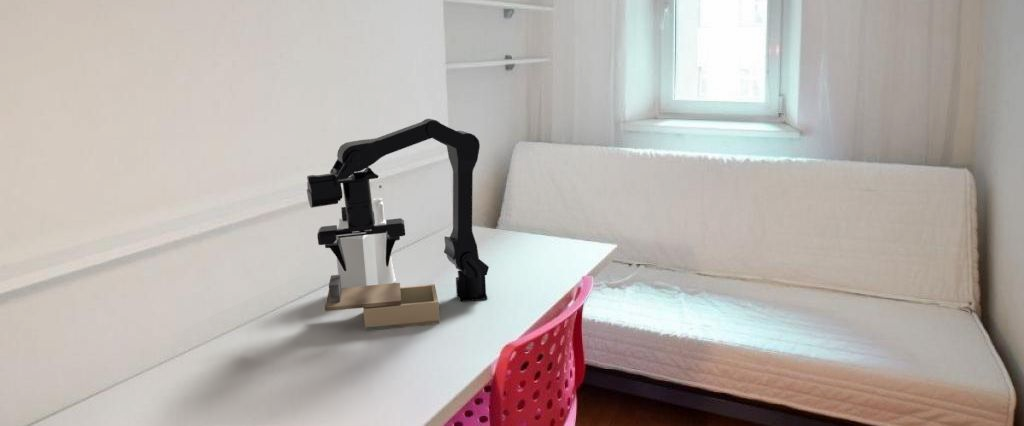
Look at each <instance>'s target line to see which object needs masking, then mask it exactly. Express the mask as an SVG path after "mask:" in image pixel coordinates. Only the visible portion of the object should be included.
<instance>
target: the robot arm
mask: <svg viewBox="0 0 1024 426" xmlns="http://www.w3.org/2000/svg"><path fill="white" fill-rule="evenodd" d="M430 139H433V140H435V141H437V142H439V143H441V144H442V145H445V146H446V149H447V156H448V159H449V160H448V161H449V163H450V166H451V168H452V231H451V233H450V236H444V245H445V247H444V250H443V253H444V254H445V255H446V258H447V260H448V261H449V262H450V263H451V264H452V265H454V266H455V269H456V270H457V277H455V288H456V289H455V291H456V296H457V297H458V298H459V301H460V302H472V301H479V300H487V299H488V295H487V284H486V276H487V275H488V271H489V268H490V267H489V265H488V264H486V263H485V262H484V261H482V260H481V259H480V258H479V249H478V244H477V241H476V239H475V236H474V233H473V187H474V185H473V173H474V169H475V167H476V164H477V162H478V159H479V154H480V148H481V147H480V145H481V144H480V140H479V139H478V137H477V136H476V135H475V134H473V133H470V132H467V131H464V130H455V129H453V128H451V127H449V126H447V125H444V124H443V123H441V122H440V121H438V120H436V119H433V118H425V119H423V120H422V121H420V122H417V123H415V124H411V125H409V126H407V127H404V128H400V129H398V130H396V131H392V132H389V133H386V134H385V135H381V136H379V137H375V138H369V139H367V138H366V139H358V140H353V141H347V142H345V143H343V144H341V145H340V146H339V149H338V151H337V153H336V154H337V155H336V156H337V157H336V158H337V159H336V160H335V162H334V164H333V165H332V168H331V169H330V172H329V173H324V174H318V175H317V174H316V175H315V174H311V175H307V177H306V178H307V182H306V187H307V189H306V195H307V200H308V203H309V206H310V208H311V209H313V208H319V207H320V208H321V207H324V206H325V207H326V206H331V205H338V204H339V201H341V199H343V198H344V205H345V206H342V207H340V208H341V209H340V211H341V219H342V220H343V221H344V222H345V221H347V222H348V228H346V229H338V225H336V224H335V225H334V224H333V225H326V226H325V225H324V226H320V228H319V229H318V232H317V242H318V243H317V244H318V246H324V247H325V249H330V250H331V252H332V253H333V254H334V255H335V257H336V260H337V259H338V260H339V262H340V264H341V266H342V268H343V269H344V271H346V262H345V258H344V254H343V250H342V246H341V241H340V238H343V237H352V236H361V235H370V234H379V233H386V266H388V265H389V260H390V256H391V257H392V251H393V248H394V246H395V243H396V241H400V240H401V237H405V236H406V228H405V220H404V219H402V218H401V217H399V218H391V219H385V220H386V224H383V225H374V224H375V218H374V212H373V207H372V203H373V198H372V192H371V182H370V180H374V179H378V178H379V175H378V174H377V173H376V172H374V171H373V170H372V168H371V166H372V165H373V164H375V163H377V162H378V161H379V160H381V159H382V158H383V157H385V156H386V155H390V154H392V153H393V154H394V153H395V152H398V151H401V150H403V149H406V148H409V147H411V146H415V145H417V144H419V143H422V142H424V141H427V140H430ZM342 188H343V189H342ZM343 196H344V197H343ZM366 230H371V231H366ZM354 231H359V232H354Z"/></svg>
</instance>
